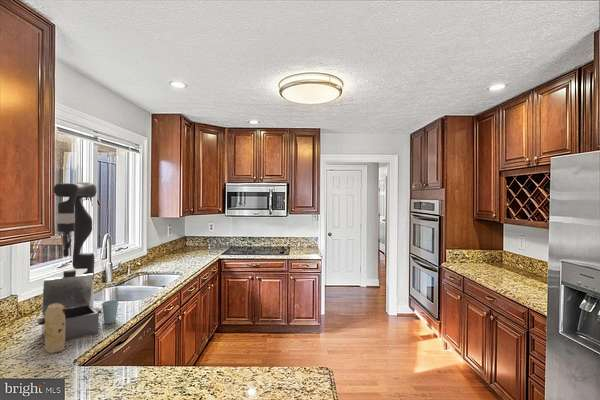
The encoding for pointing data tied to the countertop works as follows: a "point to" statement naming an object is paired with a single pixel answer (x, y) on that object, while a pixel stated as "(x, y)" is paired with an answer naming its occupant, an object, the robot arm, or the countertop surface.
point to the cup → (110, 311)
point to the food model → (55, 328)
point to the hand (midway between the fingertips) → (65, 256)
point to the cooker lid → (67, 290)
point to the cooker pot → (78, 322)
